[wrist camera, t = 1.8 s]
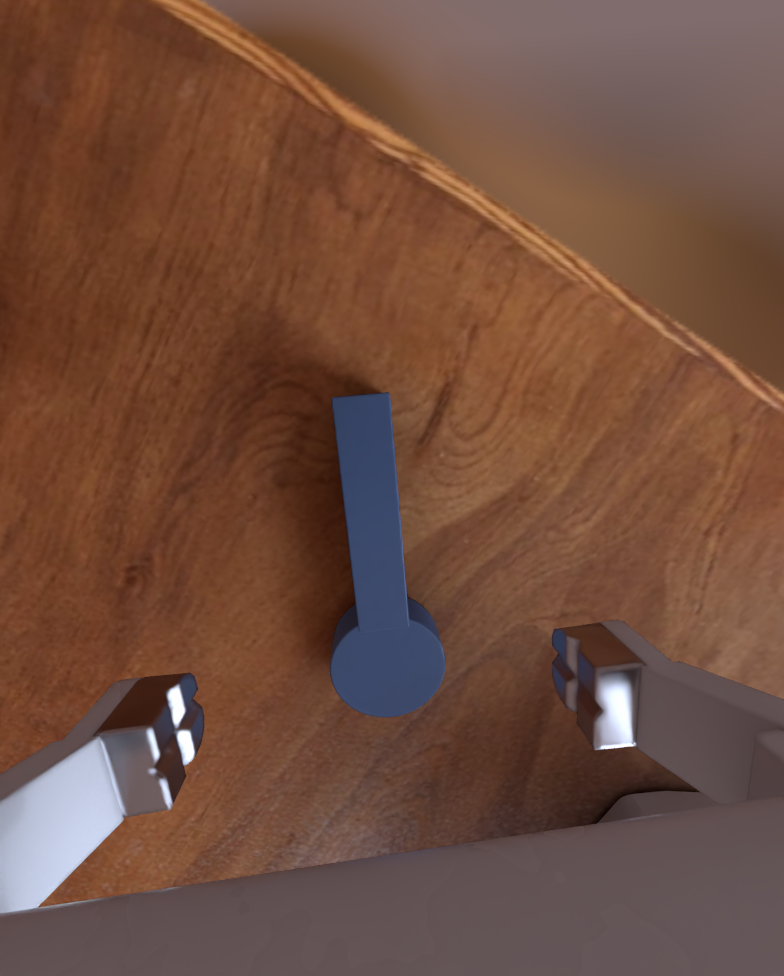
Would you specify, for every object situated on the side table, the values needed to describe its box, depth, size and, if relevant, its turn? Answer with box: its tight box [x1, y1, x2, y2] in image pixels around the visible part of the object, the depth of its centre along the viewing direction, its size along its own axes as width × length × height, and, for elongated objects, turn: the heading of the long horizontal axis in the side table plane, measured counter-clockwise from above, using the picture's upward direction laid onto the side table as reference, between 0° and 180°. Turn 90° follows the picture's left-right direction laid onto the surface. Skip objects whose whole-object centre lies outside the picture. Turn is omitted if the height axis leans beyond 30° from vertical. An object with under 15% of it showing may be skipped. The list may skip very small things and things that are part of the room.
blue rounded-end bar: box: [330, 392, 445, 717], centre depth 16 cm, size 14×5×3 cm, turn 5°
